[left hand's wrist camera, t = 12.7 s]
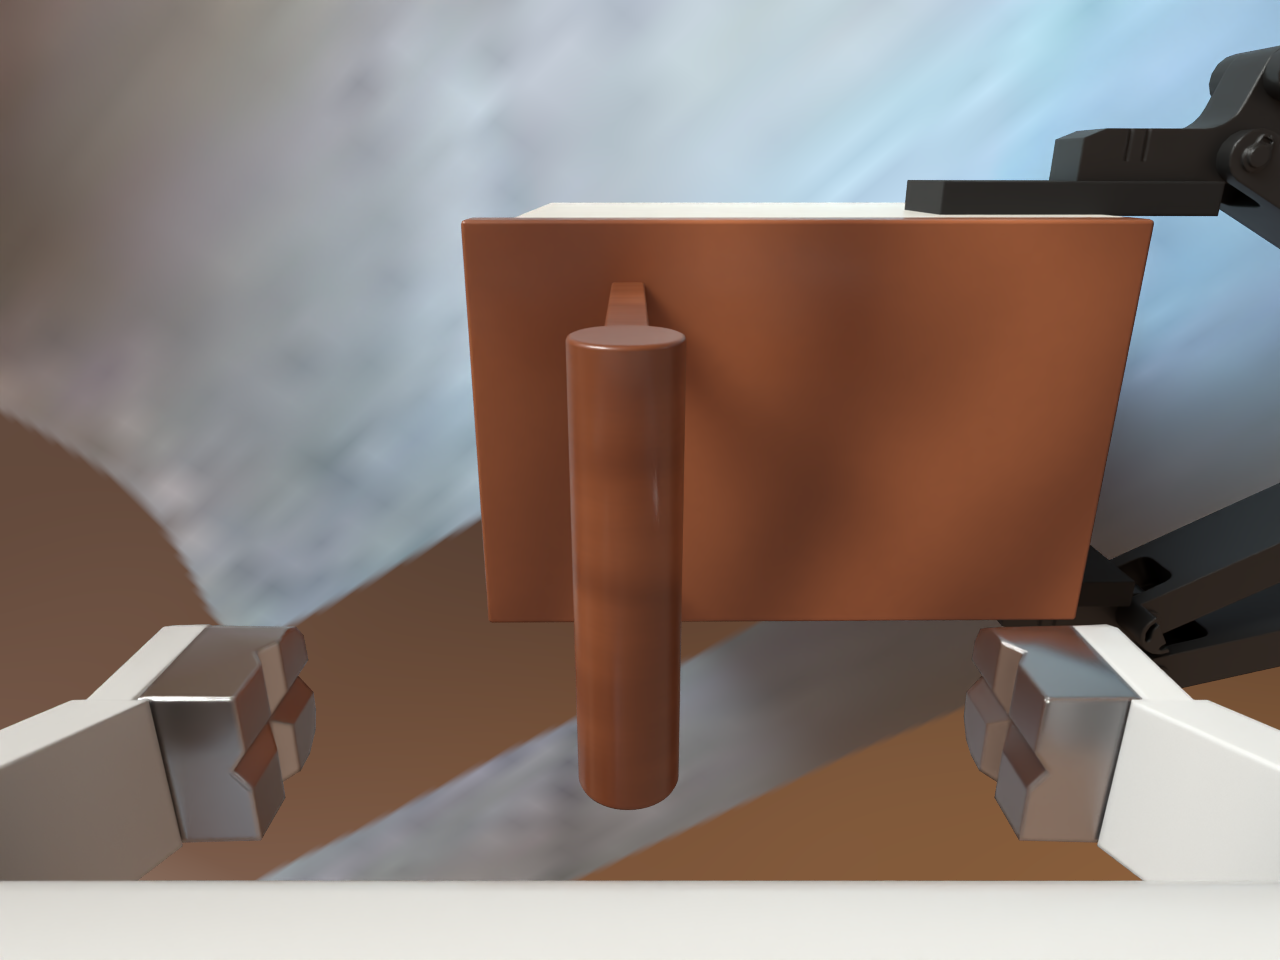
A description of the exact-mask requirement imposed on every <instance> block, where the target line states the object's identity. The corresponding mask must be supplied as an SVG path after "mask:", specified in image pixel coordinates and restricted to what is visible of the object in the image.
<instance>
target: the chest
mask: <svg viewBox="0 0 1280 960" xmlns="http://www.w3.org/2000/svg"><path fill="white" fill-rule="evenodd" d="M695 217H1121V216H1110V215H938V214H931V213H924V212H916V211H909V210H905V203H550V204H547V205H545V206H542V207H540V208H537V209H535V210H532V211H530V212H527V213H525V214H522V215H520V216H517V217H515V218H695Z"/></svg>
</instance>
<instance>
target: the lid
mask: <svg viewBox="0 0 1280 960" xmlns="http://www.w3.org/2000/svg"><path fill="white" fill-rule="evenodd" d="M1153 225H1154V222H1153V221H1152V220H1150V219H1141V218H1131V217H695V218H469V219H466V220H464V221H462V223H461V231H462V245H463V260H464V274H465V288H466V303H467V317H468V331H469V346H470V360H471V374H472V389H473V403H474V417H475V432H476V446H477V461H478V475H479V489H480V504H481V518H482V532H483V547H484V560H485V575H486V590H487V604H488V618H489V621H490V622H574V636H575V669H576V702H577V735H578V768H579V781H580V784H581V786H582V788H583V790H584V791H585V793H586V794H587V795H588V796H589V797H590V798H591V799H593V800H594V801H596V802H597V803H599V804H601V805H604V806H607V807H610V808H614V809H620V810H636V809H642V808H646V807H650V806H652V805H655V804H657V803H659V802H661V801H662V800H664V799H665V798H666V797H667V796H669V794H670V793H671V792H672V791H673V789H674V788H675V786H676V784H677V781H678V770H679V717H680V664H681V621H871V620H1069V619H1074V618H1075V616H1076V611H1077V606H1078V601H1079V596H1080V591H1081V586H1082V581H1083V576H1084V571H1085V566H1086V561H1087V556H1088V551H1089V546H1090V541H1091V536H1092V531H1093V526H1094V521H1095V516H1096V511H1097V506H1098V501H1099V496H1100V491H1101V486H1102V481H1103V476H1104V471H1105V466H1106V461H1107V456H1108V451H1109V446H1110V441H1111V436H1112V431H1113V426H1114V421H1115V416H1116V411H1117V406H1118V401H1119V396H1120V391H1121V386H1122V381H1123V376H1124V371H1125V366H1126V361H1127V356H1128V351H1129V346H1130V341H1131V336H1132V331H1133V326H1134V321H1135V316H1136V311H1137V306H1138V301H1139V296H1140V291H1141V286H1142V281H1143V276H1144V271H1145V266H1146V261H1147V256H1148V251H1149V246H1150V241H1151V236H1152V231H1153Z"/></svg>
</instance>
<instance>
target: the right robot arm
mask: <svg viewBox="0 0 1280 960" xmlns="http://www.w3.org/2000/svg"><path fill="white" fill-rule="evenodd" d="M1209 89H1210V95H1211V98H1210V100H1209V102H1208V104H1207V106H1206V108H1205V109H1204V111H1203V112H1202V114H1201V115H1200V116H1199V117H1198V118H1197V119H1196V120H1195V121H1194V122H1193V123H1192V124H1190V125H1189V126H1187V127H1185V128H1183V129H1125V128H1107V129H1095V130H1084V131H1076V132H1074V133H1071V134H1069V135H1066V136H1064V137H1061V138H1059V139H1056V140H1055V147H1054V153H1053V159H1052V166H1051V172H1050V178H1049V180H908V181H907V190H906V200H905V210H909V211H916V212H924V213H931V214H938V215H1110V216H1218V212H1219V209H1220V210H1222V211H1223V212H1225V213H1226V214H1228V215H1229V216H1231V217H1232V218H1234V219H1235V220H1237V221H1238V222H1240V223H1241V224H1243V225H1244V226H1246V227H1247V228H1249V229H1250V230H1252V231H1253V232H1255V233H1256V234H1258V235H1259V236H1261V237H1262V238H1264V239H1265V240H1267V241H1268V242H1270V243H1272V244H1273V245H1275V246H1276V247H1278V248H1279V249H1280V46H1276V47H1270V48H1265V49H1260V50H1255V51H1250V52H1244V53H1239V54H1235V55H1232V56H1229V57H1226V58H1225V59H1224V60H1223V61H1222V62H1220V63H1219V64H1218V65H1217V67H1216V68H1215V70H1214V71H1213V73H1212V75H1211V79H1210V82H1209ZM997 621H998V622H999V623H1000V624H1001V625H1002V626H1004V627H1030V626H1071V625H1072V626H1080V625H1103V624H1107V625H1110V626H1113V627H1116V628H1118V629H1120V630H1121V631H1122V632H1123V633H1124V634H1125V635H1126V636H1127V637H1128V638H1129V639H1130V640H1131V641H1132V642H1133V643H1134V644H1135V645H1136V646H1137V647H1139V648H1140V649H1141V650H1142V651H1143V652H1144V653H1145V654H1146V655H1147V656H1148V657H1149V658H1150V659H1151V660H1152V661H1153V662H1154V663H1155V664H1156V665H1158V666H1159V667H1160V668H1161V669H1162V670H1163V671H1164V672H1165V673H1166V674H1167V675H1168V676H1169V677H1170V678H1171V679H1172V680H1173V681H1174V682H1175V683H1177V684H1178V685H1179V686H1180V687H1181V688H1184V687H1189V686H1193V685H1198V684H1202V683H1207V682H1211V681H1216V680H1220V679H1225V678H1229V677H1234V676H1238V675H1243V674H1247V673H1252V672H1256V671H1261V670H1265V669H1270V668H1275V667H1279V666H1280V483H1279V484H1276V485H1274V486H1272V487H1270V488H1268V489H1265V490H1263V491H1261V492H1259V493H1256V494H1254V495H1252V496H1250V497H1248V498H1245V499H1243V500H1241V501H1239V502H1237V503H1234V504H1232V505H1230V506H1228V507H1226V508H1223V509H1221V510H1219V511H1217V512H1215V513H1212V514H1210V515H1208V516H1206V517H1204V518H1201V519H1199V520H1197V521H1195V522H1193V523H1190V524H1188V525H1186V526H1184V527H1182V528H1179V529H1177V530H1175V531H1173V532H1171V533H1168V534H1166V535H1164V536H1162V537H1160V538H1157V539H1155V540H1153V541H1151V542H1149V543H1146V544H1144V545H1142V546H1140V547H1138V548H1135V549H1133V550H1131V551H1129V552H1126V553H1124V554H1122V555H1120V556H1118V557H1115V558H1113V559H1111V560H1108V559H1107V558H1106V557H1104V556H1103V555H1102V554H1101V553H1099V552H1098V551H1097V550H1096V549H1094V548H1093V547H1092V546H1091V545H1090V546H1089V551H1088V556H1087V561H1086V566H1085V571H1084V576H1083V581H1082V586H1081V591H1080V596H1079V601H1078V606H1077V611H1076V616H1075V618H1074V619H1069V620H997Z"/></svg>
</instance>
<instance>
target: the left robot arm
mask: <svg viewBox="0 0 1280 960" xmlns="http://www.w3.org/2000/svg"><path fill="white" fill-rule="evenodd" d="M307 661H308V656H307V651H306V646H305V641H304V636H303V634H302V633H301V632H300V631H299V630H298V629H297V627H273V626H220V625H216V626H212V625H175V626H167V627H163V628H162V629H161V630H160V631H159V632H158V633H157V634H156V635H154V636H153V637H152V638H151V639H150V640H149V641H148V642H147V643H146V644H145V645H144V646H143V647H142V648H141V649H140V650H139V651H138V652H136V653H135V654H134V655H133V656H132V657H131V658H130V659H129V660H128V661H127V662H126V663H125V664H124V665H123V666H122V667H121V668H119V669H118V670H117V671H116V672H115V673H114V674H113V675H112V676H111V677H110V678H109V679H108V680H107V681H106V682H105V683H104V684H103V685H101V686H100V687H99V688H98V689H97V690H96V691H95V692H94V693H93V694H92V695H91V696H90V697H89V698H88V699H87V700H71V701H69V702H66V703H64V704H62V705H59V706H57V707H54V708H52V709H50V710H47V711H45V712H42V713H40V714H38V715H35V716H33V717H30V718H28V719H26V720H23V721H21V722H19V723H16V724H14V725H11V726H9V727H7V728H4V729H2V730H0V960H1280V730H1278V729H1276V728H1273V727H1271V726H1268V725H1266V724H1264V723H1261V722H1259V721H1256V720H1254V719H1252V718H1249V717H1247V716H1245V715H1242V714H1240V713H1237V712H1235V711H1233V710H1230V709H1228V708H1226V707H1223V706H1221V705H1218V704H1216V703H1214V702H1211V701H1209V700H1193V699H1192V698H1191V697H1190V696H1189V695H1188V694H1187V693H1186V692H1185V691H1184V690H1183V689H1182V688H1181V687H1180V686H1179V685H1178V684H1177V683H1175V682H1174V681H1173V680H1172V679H1171V678H1170V677H1169V676H1168V675H1167V674H1166V673H1165V672H1164V671H1163V670H1162V669H1161V668H1160V667H1159V666H1158V665H1156V664H1155V663H1154V662H1153V661H1152V660H1151V659H1150V658H1149V657H1148V656H1147V655H1146V654H1145V653H1144V652H1143V651H1142V650H1141V649H1140V648H1139V647H1137V646H1136V645H1135V644H1134V643H1133V642H1132V641H1131V640H1130V639H1129V638H1128V637H1127V636H1126V635H1125V634H1124V633H1123V632H1122V631H1121V630H1120V629H1118V628H1116V627H1113V626H1110V625H1107V624H1103V625H1080V626H1072V625H1071V626H1030V627H990V628H983V629H980V631H979V633H978V635H977V638H976V640H975V644H974V650H973V655H972V661H973V662H974V664H975V665H976V667H977V668H978V670H979V672H980V673H981V675H982V676H981V677H980V678H979V680H978V681H977V682H976V683H975V684H974V685H973V686H972V687H971V688H970V689H969V690H968V691H967V694H966V702H965V711H964V723H965V733H966V740H967V744H968V747H969V750H970V753H971V756H972V758H973V760H974V762H975V763H976V765H977V767H978V769H979V771H981V772H982V773H984V774H985V775H987V776H989V777H990V778H992V779H993V780H995V781H996V782H997V786H996V792H995V799H996V801H997V803H998V804H999V806H1000V808H1001V810H1002V811H1003V813H1004V815H1005V816H1006V818H1007V820H1008V822H1009V823H1010V825H1011V827H1012V829H1013V830H1014V832H1015V834H1016V836H1017V837H1018V839H1019V840H1025V841H1062V842H1098V845H1097V846H1098V847H1099V848H1101V849H1102V850H1103V851H1105V852H1106V853H1107V854H1109V855H1110V856H1111V857H1112V858H1114V859H1115V860H1116V861H1118V862H1119V863H1121V864H1122V865H1123V866H1124V867H1126V868H1127V869H1128V870H1130V871H1131V872H1132V873H1134V874H1135V875H1136V876H1137V877H1139V878H1140V879H1141V880H1143V881H138V880H139V879H140V878H142V877H143V876H144V875H145V874H147V873H148V872H149V871H151V870H152V869H153V868H155V867H156V866H157V865H159V864H160V863H161V862H163V861H164V860H165V859H167V858H168V857H169V856H170V855H172V854H173V853H174V852H176V851H177V850H178V849H180V848H181V847H182V842H217V841H251V840H261V839H262V838H263V836H264V834H265V832H266V831H267V829H268V827H269V825H270V824H271V822H272V820H273V818H274V817H275V815H276V813H277V811H278V810H279V808H280V806H281V804H282V803H283V801H284V799H285V792H284V786H283V781H285V780H287V779H288V778H290V777H291V776H293V775H295V774H296V773H298V772H299V771H301V769H302V767H303V765H304V763H305V761H306V760H307V758H308V756H309V754H310V750H311V746H312V742H313V738H314V734H315V726H316V708H315V701H314V694H313V691H312V690H311V689H310V688H309V687H308V686H307V685H306V684H305V683H304V682H303V681H302V680H301V678H300V677H299V676H298V675H299V673H300V671H301V670H302V668H303V667H304V665H305V664H306V662H307Z"/></svg>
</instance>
